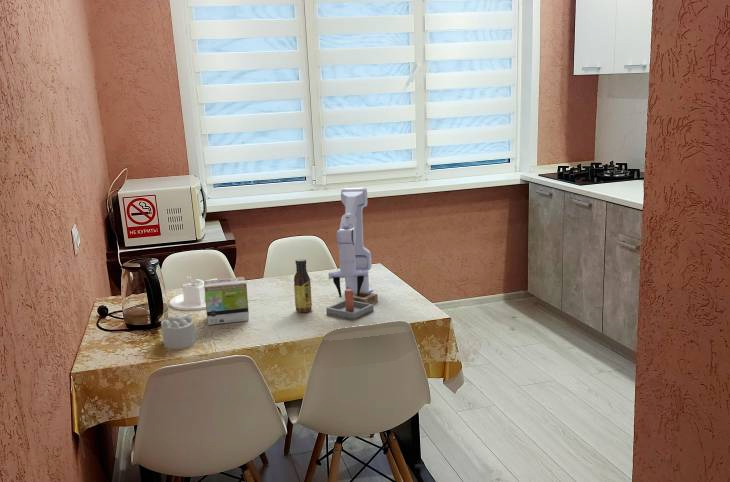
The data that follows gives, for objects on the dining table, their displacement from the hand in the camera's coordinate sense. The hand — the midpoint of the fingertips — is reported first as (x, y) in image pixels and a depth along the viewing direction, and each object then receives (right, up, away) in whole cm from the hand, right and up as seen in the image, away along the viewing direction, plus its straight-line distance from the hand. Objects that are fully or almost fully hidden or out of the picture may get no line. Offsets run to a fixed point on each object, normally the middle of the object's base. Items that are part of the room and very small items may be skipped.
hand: (349, 296), depth 243 cm
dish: (-61, -4, +25) cm, 66 cm away
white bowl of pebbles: (-57, -14, -21) cm, 62 cm away
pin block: (+5, -4, +12) cm, 14 cm away
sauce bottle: (-17, -6, +6) cm, 20 cm away
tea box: (-45, -9, 0) cm, 46 cm away
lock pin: (0, -6, +1) cm, 6 cm away
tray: (0, -6, +1) cm, 6 cm away
